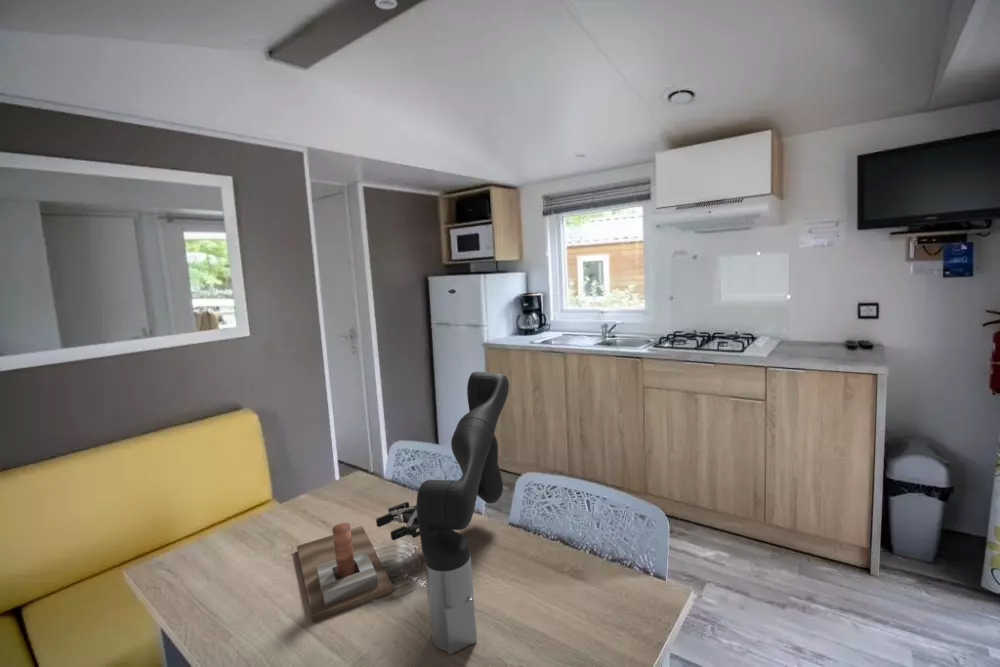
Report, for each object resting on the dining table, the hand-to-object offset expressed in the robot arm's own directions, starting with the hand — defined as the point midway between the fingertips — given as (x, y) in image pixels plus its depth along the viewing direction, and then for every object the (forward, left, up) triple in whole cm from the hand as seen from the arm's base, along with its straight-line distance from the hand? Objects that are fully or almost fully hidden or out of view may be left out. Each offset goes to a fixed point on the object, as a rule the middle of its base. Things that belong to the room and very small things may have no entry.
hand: (384, 529), depth 119 cm
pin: (-2, +10, -9) cm, 14 cm away
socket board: (+6, +10, -10) cm, 16 cm away
